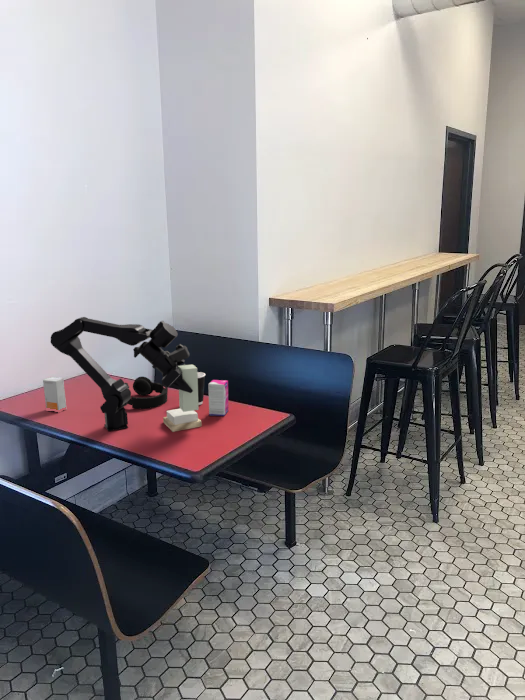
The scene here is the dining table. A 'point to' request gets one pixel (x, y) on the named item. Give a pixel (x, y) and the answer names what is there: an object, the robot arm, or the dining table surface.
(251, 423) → the dining table surface
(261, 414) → the dining table surface
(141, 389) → the headphones
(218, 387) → the supplement box
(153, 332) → the robot arm
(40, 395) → the dining table surface
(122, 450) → the dining table surface
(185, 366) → the tall block
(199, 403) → the dixie cup
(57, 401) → the skincare box
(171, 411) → the tower top slab
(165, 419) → the tower base slab
